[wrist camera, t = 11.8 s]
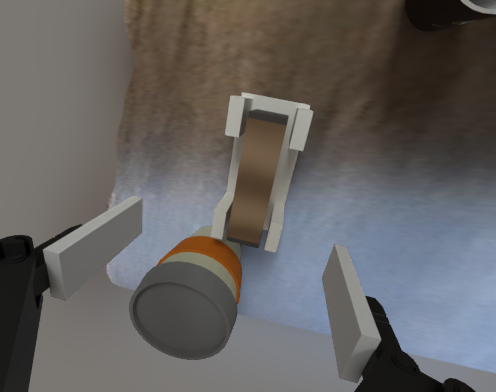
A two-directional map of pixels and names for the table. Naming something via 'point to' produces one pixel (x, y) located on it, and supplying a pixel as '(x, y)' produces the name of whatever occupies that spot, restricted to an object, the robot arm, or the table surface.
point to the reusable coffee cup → (190, 297)
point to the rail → (256, 175)
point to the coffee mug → (447, 12)
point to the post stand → (288, 155)
